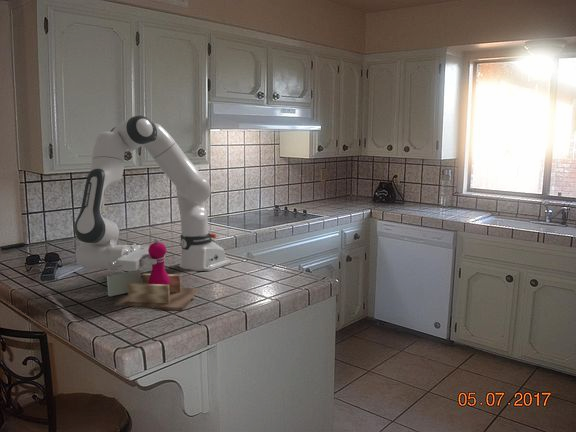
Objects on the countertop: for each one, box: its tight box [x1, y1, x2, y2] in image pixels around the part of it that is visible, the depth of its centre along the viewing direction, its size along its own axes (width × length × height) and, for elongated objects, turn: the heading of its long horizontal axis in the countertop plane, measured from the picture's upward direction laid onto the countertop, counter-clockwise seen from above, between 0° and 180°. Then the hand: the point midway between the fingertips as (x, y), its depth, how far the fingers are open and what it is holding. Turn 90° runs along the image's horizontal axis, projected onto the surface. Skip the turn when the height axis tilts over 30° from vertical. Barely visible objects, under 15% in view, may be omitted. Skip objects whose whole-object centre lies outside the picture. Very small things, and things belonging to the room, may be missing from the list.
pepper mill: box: [148, 237, 170, 285], centre depth 181 cm, size 7×7×20 cm
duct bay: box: [112, 273, 202, 311], centre depth 183 cm, size 24×20×7 cm
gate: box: [106, 269, 142, 297], centre depth 186 cm, size 2×12×7 cm, turn 127°
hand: (160, 258), depth 181 cm, fingers closed on pepper mill, 5 cm apart
